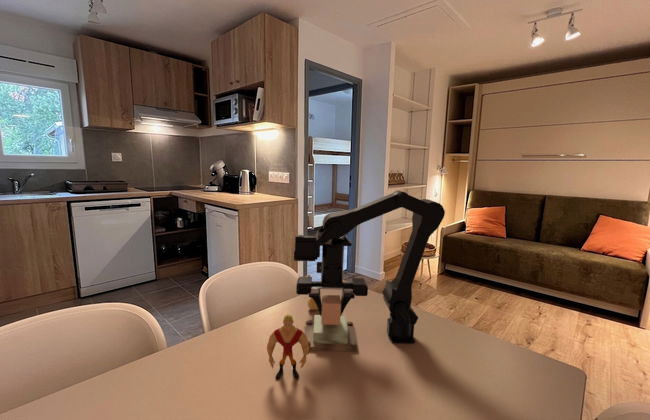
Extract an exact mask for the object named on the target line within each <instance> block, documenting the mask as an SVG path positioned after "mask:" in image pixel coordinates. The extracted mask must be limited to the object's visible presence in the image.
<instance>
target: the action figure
mask: <svg viewBox="0 0 650 420" xmlns="http://www.w3.org/2000/svg"><path fill="white" fill-rule="evenodd" d="M293 324H294V318H293V315H291V314H286V315H284V317H283V320H282V326H281V327H278V328H277V329H275V330H274V331H272V333H271V334H270V335H269V338H268V342H267V345H266V351H267V355H268V362H269V364H270V367H271V368H272V369H274V366H275V364H276V361H275V359H274V357H273V354H274V350H275V347H276V345H277V343H278V344H280V345H281V346H282V348H283V352H282V358H281V359H280V361H279V369H278V371H277V373H276V375H275V377H274V378H275V380H278V379H280V378H281V376H282V374H283V373H284V365H285V363H286V359H287V357H289V361H290V364H291V366H292V374H293V376H294V377H293V378H295V380H298V379H299V378H300V375H299V372H298V370H297V361H296V359H294V353H293V347H294V346H295V345H296V344H297V343H298V344H300V346H301V349H302V354H303V357H301V359H300V361H299V364H301V365H300V369H303V367H304V365H305V364H306V362H307V355H308V353H309V351H310V350H309V344H308V340H307V337H306V335H305V331H303V330H302V329H300V328H298V327H296V326H295V325H293Z"/></svg>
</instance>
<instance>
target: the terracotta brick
mask: <svg viewBox="0 0 650 420" xmlns="http://www.w3.org/2000/svg"><path fill="white" fill-rule="evenodd" d="M321 303H322V316H321V324H324V325H340V316H341V295H340V294H338V295H337V294H334V295H333V294H322V295H321Z"/></svg>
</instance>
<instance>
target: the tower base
mask: <svg viewBox="0 0 650 420" xmlns="http://www.w3.org/2000/svg"><path fill="white" fill-rule="evenodd" d="M313 316H314V317H313V320H306V321H305V325H304V326H305V327H304V333H305V335H306V337H307V340H308V344H309V350H308V351H330V352H333V351H335V352H337V351H339V352H358V342H357V337H356V331H355V327H354V322H352V321H347V317H346V315H343V314H342V315H341V316H340V325H324V324H321V316H320V314H314V315H313Z"/></svg>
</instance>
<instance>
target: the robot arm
mask: <svg viewBox="0 0 650 420" xmlns="http://www.w3.org/2000/svg"><path fill="white" fill-rule="evenodd" d="M400 208H403V209H405V210H407V211H409V212H412V217H411V225H412V226H411V227H412V230H411V233H410V236H409V239H408V241H407V244H406V247H405V250H404V253H403V255H402V258H401V261H400V265H399V267H398V269H397V272H396V275H395V277H394V278H393V279H392V281H389V280H388V279H387V280H385V286H384V288H383V290H382V291H381V293H382V299H383V302H384V303H385V305H386V307H387V308H388V311H389V317H387V321H386V334H387V335H388V337H389V339H390V341H391V343H395V344H397V343H398V344H399V343H401V344H415V343H416V340H415V338H414V334H415V332H414V331H415V325H416V323H417V322H418V319H419V316H418V314H417V313H416V312H415V311H414V309H413V308H412V300H413V292H412V291H413V286H412V285H413V283H414V280H415V278H416V275H417V272H418V269H419V266H420V263H421V262H422V259H423V255H424V253H425V249H426V247H427V244H428V241H429V239H430V237H431V236H432V235H433V234H434V233H435V231H436V230H438V228H439V227H440V225H441V223H442V222H443V219H444V218H445V214H446V210H445V209H444V206H443V205H442V204H441V203H439V202H437V201H434V200H431V199H427V198H423V199H419V198H416V197H414V196H412V195H411V194H409V193H407V192H406V191H402V190H395V191H393V192H392V193H389V194H387V195H385V196H381V197H380V198H377V199H374V200H373V201H370V202H367V203H365V204H362V205H359V206H357V207H355V208H351V209H345V210H338V211H333V212H329V213H327V214H326V215H325V216H324V218H323V219H322V225H321V226H320V227H319V228H318V230H317V231H316V233H315V234H314V235H302V234H296V235H295V237H294V247H293V248H294V249H293V261H294V262H316V274H320V276H321V277H320V278H321V281H314V280H313V276H310V277H305V276H299V277H298V278H297V281H296V287H295V288H296V290H295V291H296V294H297V295H303V296H304V295H305V296H306V295H307V296H308V298H309V299H310V298H313V300H314V301H315V303H316V305H317V308H318V309H317V310H318V312H319V315H320V316H322V295H321V290H341V295H340V300H341V315H342V316H343V313H344V311H345V309H346V307H347V305H348V304H349V302H350V301H351V299H355V296H356V297H367V296H368V294H369V293H368V292H369V287H368V284H367V281H366V279H365V278H364V277H351V279H350V281H343V277H344V260H345V259H344V255H345V247H352V246H353V244H352V242H351V240H350V239H349V238H348V237H347V234H349V233H350V232H352V231H353V230H354V229H355V228H357V227H358V226H359V225H361V224H363V223H366V222H368V221H370V220H373V219H376V218H378V217H380V216H383V215H385V214H388V213H390V212H393V211H395V210H398V209H400ZM321 247H322V248H321ZM321 250H322V253H321ZM320 257H321V261H317V260H318V258H320Z"/></svg>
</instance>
